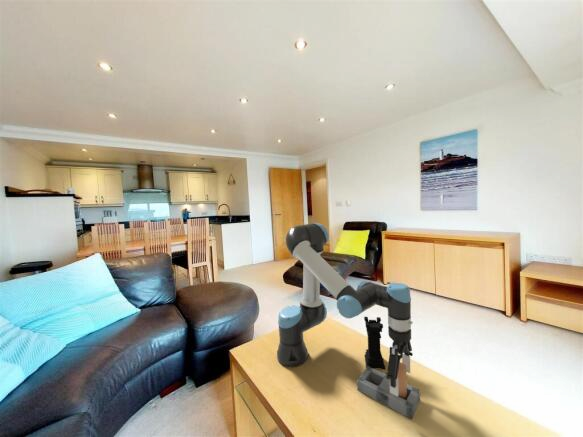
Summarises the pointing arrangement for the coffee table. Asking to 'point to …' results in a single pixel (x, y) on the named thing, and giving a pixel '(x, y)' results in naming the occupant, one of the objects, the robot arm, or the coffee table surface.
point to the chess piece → (374, 344)
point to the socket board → (387, 392)
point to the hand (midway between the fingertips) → (400, 382)
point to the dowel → (402, 381)
